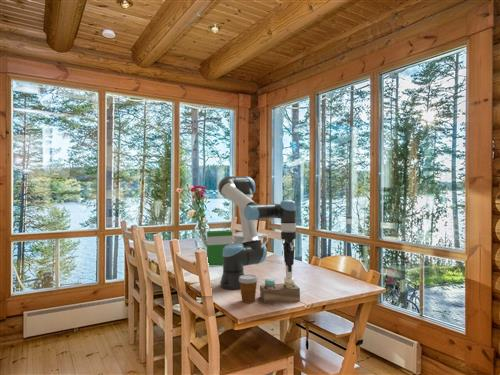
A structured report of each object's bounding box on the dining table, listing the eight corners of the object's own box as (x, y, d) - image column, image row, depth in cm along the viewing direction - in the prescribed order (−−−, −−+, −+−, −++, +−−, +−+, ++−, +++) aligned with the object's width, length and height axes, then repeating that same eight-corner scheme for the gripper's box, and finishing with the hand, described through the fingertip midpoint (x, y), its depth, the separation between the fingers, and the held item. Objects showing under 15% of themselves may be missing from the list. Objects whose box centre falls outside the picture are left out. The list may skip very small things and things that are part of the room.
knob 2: (283, 294, 175) (283, 277, 175) (292, 294, 176) (292, 276, 176) (286, 297, 170) (285, 279, 170) (295, 297, 171) (295, 279, 171)
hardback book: (230, 262, 255) (230, 230, 254) (232, 264, 247) (232, 231, 247) (207, 263, 250) (206, 231, 250) (208, 266, 243) (207, 232, 243)
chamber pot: (225, 256, 276) (225, 230, 276) (239, 250, 301) (239, 226, 301) (258, 258, 265) (257, 232, 265) (269, 252, 291) (269, 227, 290)
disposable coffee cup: (235, 303, 167) (235, 278, 167) (243, 296, 176) (242, 273, 175) (254, 305, 163) (253, 280, 163) (260, 298, 172) (260, 275, 172)
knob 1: (264, 296, 173) (264, 279, 173) (273, 296, 174) (273, 278, 174) (266, 300, 169) (266, 281, 168) (275, 299, 169) (275, 281, 169)
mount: (260, 296, 176) (260, 285, 176) (293, 294, 179) (293, 282, 179) (264, 303, 166) (264, 290, 166) (300, 300, 169) (299, 288, 169)
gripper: (299, 232, 167) (300, 280, 167) (291, 229, 180) (292, 274, 180) (284, 233, 166) (285, 281, 166) (277, 229, 179) (278, 274, 179)
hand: (289, 277), depth 173 cm, fingers closed
